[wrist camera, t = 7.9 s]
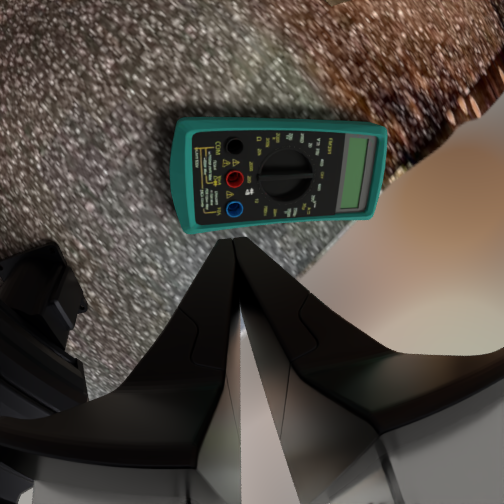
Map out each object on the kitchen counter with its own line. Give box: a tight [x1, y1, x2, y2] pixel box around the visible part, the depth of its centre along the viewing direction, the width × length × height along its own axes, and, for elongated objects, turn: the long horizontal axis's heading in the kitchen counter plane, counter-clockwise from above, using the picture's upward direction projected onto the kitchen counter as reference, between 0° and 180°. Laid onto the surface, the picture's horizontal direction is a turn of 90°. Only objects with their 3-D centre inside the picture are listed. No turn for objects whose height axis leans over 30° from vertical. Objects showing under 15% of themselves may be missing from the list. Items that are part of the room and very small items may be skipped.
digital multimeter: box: [169, 117, 387, 234], centre depth 20 cm, size 7×15×3 cm, turn 89°
